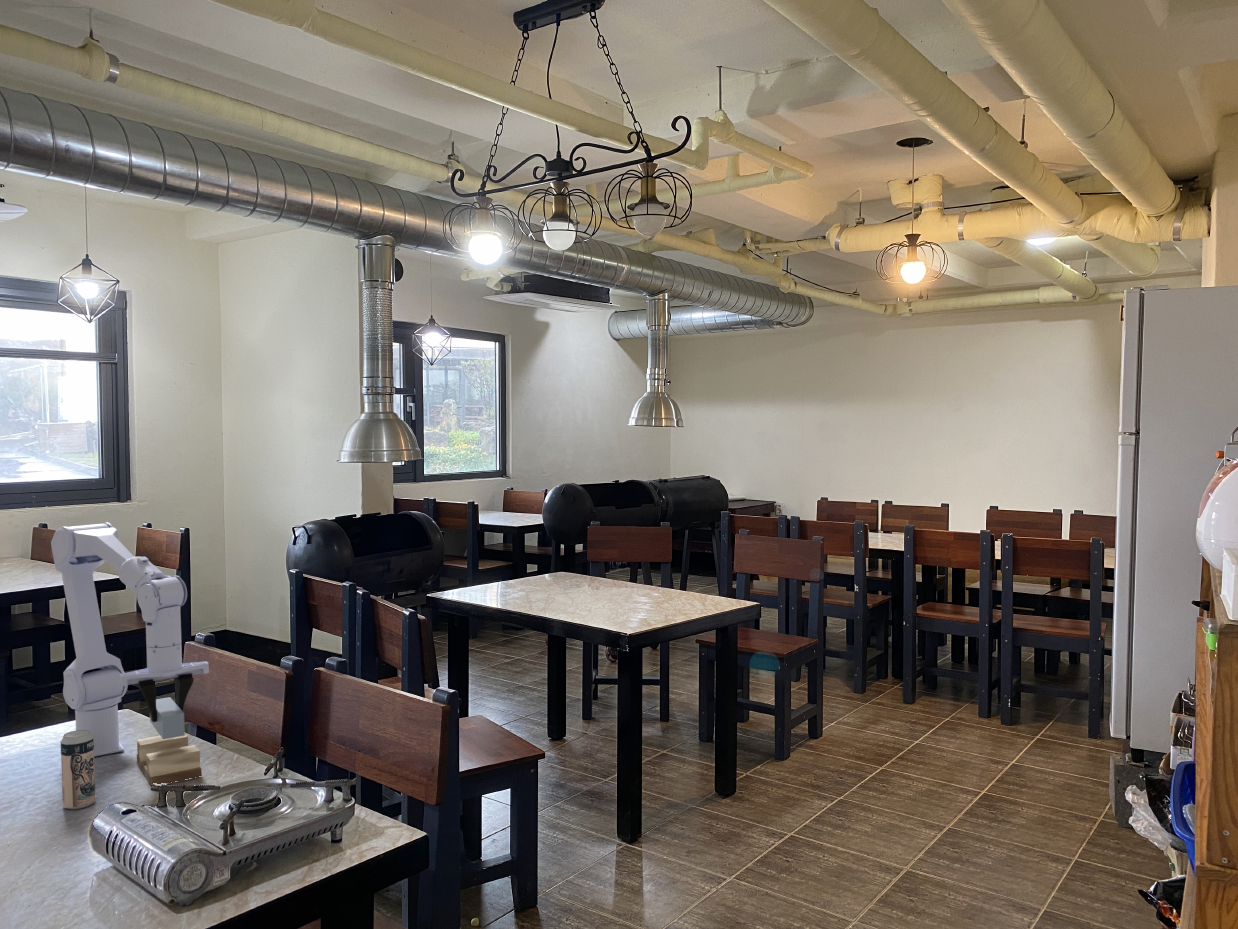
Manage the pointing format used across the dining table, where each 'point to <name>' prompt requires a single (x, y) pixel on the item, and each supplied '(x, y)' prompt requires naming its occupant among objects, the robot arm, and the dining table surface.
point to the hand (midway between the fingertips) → (166, 718)
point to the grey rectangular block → (169, 719)
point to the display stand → (168, 759)
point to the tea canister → (78, 769)
